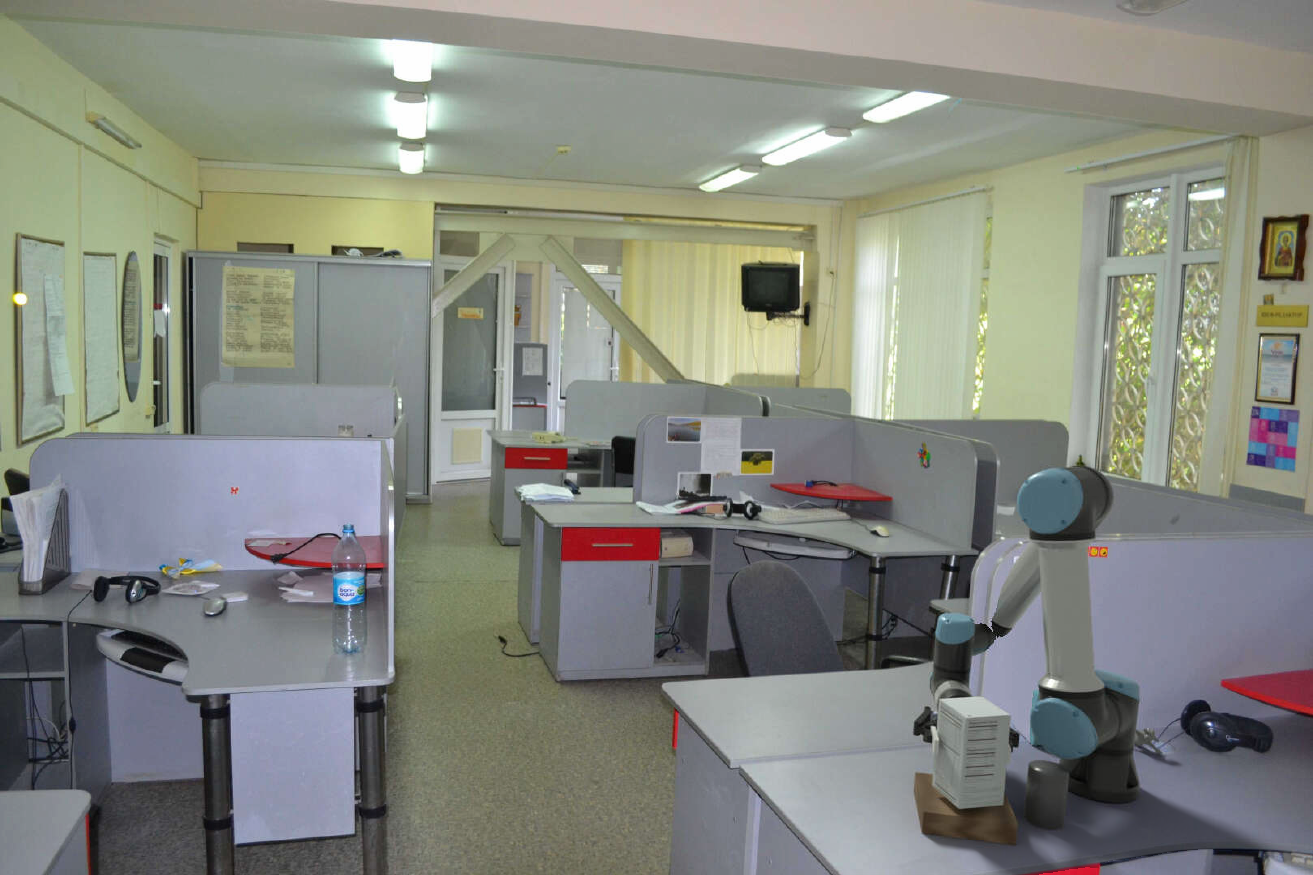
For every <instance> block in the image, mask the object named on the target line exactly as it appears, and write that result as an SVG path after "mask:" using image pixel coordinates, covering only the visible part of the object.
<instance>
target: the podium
mask: <svg viewBox="0 0 1313 875" xmlns="http://www.w3.org/2000/svg"><path fill="white" fill-rule="evenodd" d="M932 782H933V773H925V772H918V771H915V772H914V784H913V796H914V800H915V805H916V812H917V815H918V821H919V825H920V832H921V834H926V835H935V836H941V837H948V838H949V837H950V838H956V839H957V838H958V839H965V840H972V841H980V842H987V843H988V842H989V843H995V844H1004V845H1010V846H1011V845H1012V846H1016V845H1017V834H1018V827H1019V826H1018V825H1019V824H1018V820H1017V818H1016V815H1015V813H1014V810H1013V809H1012V806H1011V803H1010V800H1009V798H1008V796H1007V792H1006V790H1004V801H1003V805H999V806H987V807H975V808H963V809H959V808H957V807H956V806H955V805H954V804H953V803H952V802H950V801H949V800H948V799H947V798H946V797H945V796H944V795H942V794H941V793H940V792H939V791H938V790H937V789H936V788H934V787H933V786H932Z"/></svg>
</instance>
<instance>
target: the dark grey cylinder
mask: <svg viewBox="0 0 1313 875" xmlns="http://www.w3.org/2000/svg"><path fill="white" fill-rule="evenodd" d="M1027 767H1028V768H1027V776H1026V787H1025V798H1024V807H1023V818H1024V820H1025V821H1026V822H1027V823H1029V824H1030V825H1032V826H1034V827H1036V828H1039V829H1043V830H1050V831H1055V830H1057V831H1058V830H1060V829H1063V828H1064V827H1065V820H1066V812H1067V811H1066V808H1067V802H1068V800H1067V799H1068V791H1069V790H1068V782H1069V770H1068V769H1067V768H1065V767H1064V766H1062V765H1060V764H1059V763H1057V762H1054V761H1050V760H1042V759H1036V760H1032V761H1030V762H1029V763H1028V766H1027Z"/></svg>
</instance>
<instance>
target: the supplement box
mask: <svg viewBox="0 0 1313 875" xmlns="http://www.w3.org/2000/svg"><path fill="white" fill-rule="evenodd" d="M937 712H938V720H937V734H938V738H939V749H938V755H934V760H933V771H932V774H933V782H932V786H933V787H934V788H936V789H937V790H938V791H939V792H940V793H941V794H942V795H944V796H945V797H946V798H947V799H948V800H949V801H950V802H952V803H953V804H954V805H955V806H956V807H957V808H959V809H963V808H975V807H987V806H999V805H1003V801H1004V790H1005V788H1006V774H1007V766H1008V763H1007V754H1008V743H1009V732H1010V727H1011V718H1012V715H1011V714H1009V713H1008V712H1006V711H1005V710H1003V709H1001V708H1000V706H997V705H995V704H994V703H993V702H991V701H989V700H988V699H986V698H985V697H982V696H973V697H965V698H947V699H939V707H938V711H937ZM1005 791H1006V790H1005Z"/></svg>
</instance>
